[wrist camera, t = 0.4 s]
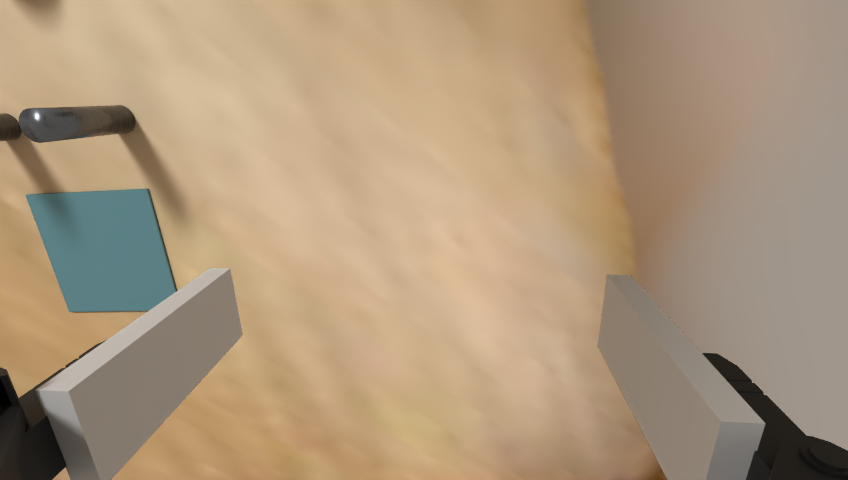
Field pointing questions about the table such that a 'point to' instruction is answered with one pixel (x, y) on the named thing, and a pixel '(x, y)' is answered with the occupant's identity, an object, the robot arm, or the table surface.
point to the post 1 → (9, 128)
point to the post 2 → (75, 122)
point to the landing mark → (104, 249)
